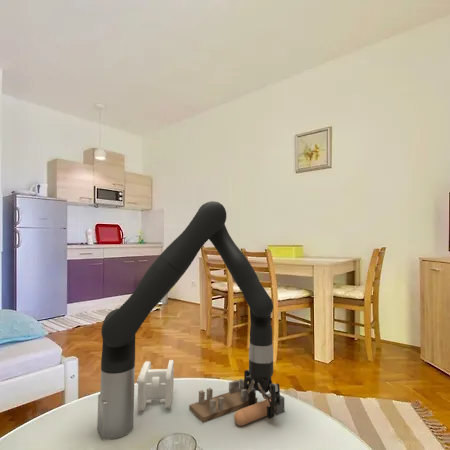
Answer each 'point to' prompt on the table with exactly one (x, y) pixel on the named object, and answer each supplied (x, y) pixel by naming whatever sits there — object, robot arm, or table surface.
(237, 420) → the tan rounded rod
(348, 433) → the table surface
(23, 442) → the table surface
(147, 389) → the cable organizer
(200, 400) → the brown pegged board
